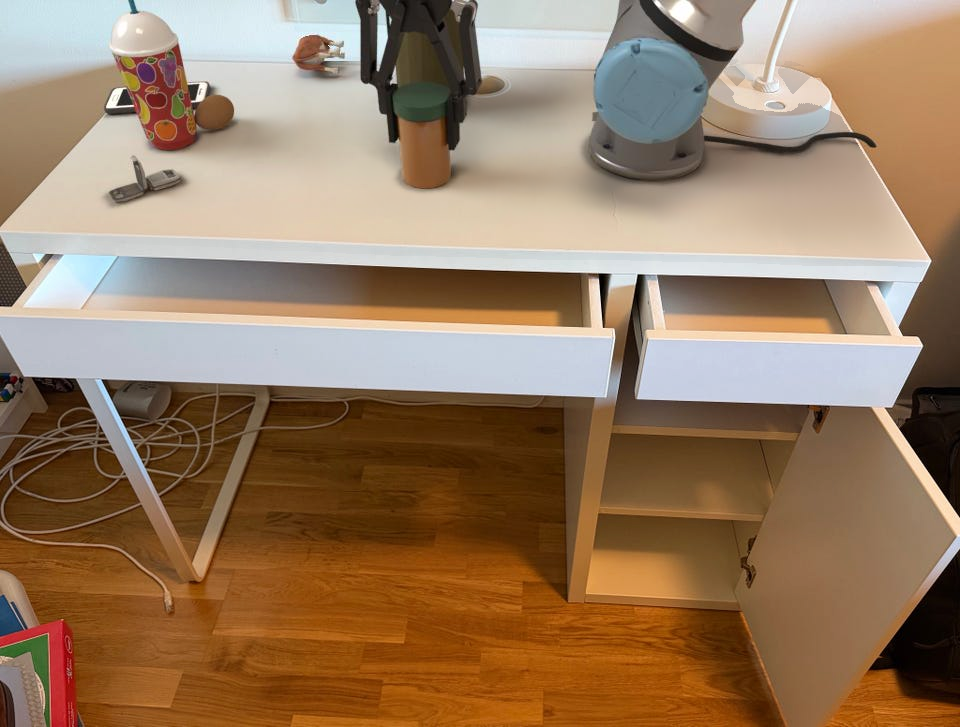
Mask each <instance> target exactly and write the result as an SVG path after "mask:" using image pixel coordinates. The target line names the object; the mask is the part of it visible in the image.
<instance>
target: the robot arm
mask: <svg viewBox="0 0 960 727" xmlns="http://www.w3.org/2000/svg"><path fill="white" fill-rule="evenodd" d="M756 2H757V0H618V7H617V15H616V19H615V20H616V21H615V23H614V25H613V29H612V31H611V33H610V35H609V38H608V41H607V43H606V46H605V48H604V51H603V53H602V56H601V57H600V59H599V61H598V63H597V64H596V66H595V70H594V71H595V73H594V75H593V100H594V104H595V107H596V110H597V111H594V112H592V116H591V122H594V124H593V126H592V128H591V130H590V135H589V139H588V154H589V156H590V157H591V159H592V160H593V161H594V162H595V163H596V164H597V165H598V166H599V167H601V168H603V169H604V170H607V171H608V172H611V173H612V174H616V175H619V176H622V177H625V178H630V179H634V180H641V181H663V180H671V179H676V178H680V177H683V176H686V175H688V174H690V173H692V172H693V171H695V170H697V168H698V167H699V166H700V165H701V163H702V161H703V156H704V152H705V142H707V143H708V142H709V143H717V144H725V145H733V146H740V147H746V148H752V149H761V150H766V151H771V152H779V153H799V152H802V151H806V150H807V149H809V148H810V147H811V146H812V145H813V144H814V143H815V142H817V141H821V140H831V139H842V138H843V139H845V138H849V139H856V140H859V141H862V142H863V143H865V144H866V145H867V146H868V147H869V148H872V149H875V148H877V144H876V143H875V142H874V140H873V139H872V138H870V136H867V135H865V134H864V133H863V134H862V133H860V132H854V131H837V132H828V133H820V134H814V135H813V136H811V137H810V138H809V139H808V140H807V141H806V142H804V143H802V144H800V145H796V146H795V145H794V146H784V145H777V144H771V143H766V142H765V143H764V142H760V141H759V142H757V141H750V140H745V139H744V140H743V139H737V138H732V137H722V136H714V135H705V134H704V127H703V126H704V125H703V119H702V113H703V112H704V108H705V107H706V106H707V103H708V98H709V91H710V89H711V88H712V86H713V85H714V84H715V82H716V81H717V79H718V78H719V77H720V75H722V73H723V71H724V70H725V69H726V68H727V66H728V65H729V63H730V62H731V61H732V59H733V58H734V56H735V55H736V54H737V53H738V51H739V50H740V48H742V46H743V44H744V42H745V39H744V38H745V36H744V30H743V20H744V18H745V17H746V15H747V14H749V11H750V10H751V8H752V7H753V6H754V5H755V3H756ZM354 3H355V8H356V10H357V14H358V17H359V20H360V23H359V28H360V29H359V30H360V32H359V33H360V34H359V36H360V37H359V38H360V41H359V42H360V43H359V45H360V46H359V50H360V52H359V55H360V58H359V59H360V60H359V61H360V63H359V64H360V65H359V66H360V71H359V72H360V81H361V83H363V84H364V85H368V84H369V85H372V86H373V87H374V88H375V90H376V92H377V101H378V111H379V113H380V114H381V115H386V123H387V125H386V126H387V134H388V143H389V144H396V142H397V141H398V140H399V135H398V123H397V115H396V114H395V112H394V109H393V98H392V95H393V92H394V91H395V90H396V89H397V88H398V84H397V83H393V82H392V80H393V79H394V77H393V75H394V72H395V69H396V66H395V65H396V61H397V58H398V54H399V51H400V47H401V44H402V41H403V37H404V34H405V32H407V33H409V32H414V31H415V32H418V33H421V34H427V36H428V39H429V41H430V43H431V44H433V46H434V49H435V51H436V54H437V57H438V59H439V62H440V64H441V67H442V69H443V72H444V75H445V77H446V80H447V82H448V85H449V87H450V90H451V93H450V94H449V96H448V98H447V99H446V103H447V130H448V150H450V151H455V149H456V148H457V146H458V144H459V143H460V140H461V134H460V133H461V132H460V131H461V128H460V127H461V126H460V124H463V123H464V121H465V119H466V118H467V115H468V105H467V104H468V101H467V98H468V97H467V96H476V94H477V93H478V92H479V90H480V88H481V86H482V85H483V79H482V70H481V62H480V54H479V46H478V38H477V29H476V28H477V27H476V18H477V13H478V8H479V4H478V2H477V0H468V1H466V0H355V2H354ZM380 6H382V8H383V9H384V11H386V12H387V13H388V15H389V19H391V20H390V28H389V31H388V34H387V40H386V43H385V46H384V51H383V53H382V57H381V61H380V64H379V68H378V31H379V30H378V28H379V27H378V25H379V22H378V21H379V20H378V17H379V16H378V15H379V14H378V12H379V11H380V9H381V8H380ZM450 9H451V10H453V11H454V13H455V19H456V21H457V22H460V23H459V35H460V42H461V50H462V57H463V65H464V75H463V72H462V69H461V67H460V64H459V61H458V59H457V56H456V53H455V51H454V48H453V45H452V43H451V40H450V37H449V35H448V27H447V25H446V22H445V19H444V17H445V16H446V14H447V13H448V12H449V10H450ZM386 12H385V13H386ZM391 82H392V83H391Z"/></svg>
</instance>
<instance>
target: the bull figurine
mask: <svg viewBox="0 0 960 727" xmlns="http://www.w3.org/2000/svg"><path fill="white" fill-rule="evenodd" d="M297 40H298V39H297ZM297 40H296V45H297V46H296V49H295V51H294V53H293V54H292V56H291V59H292V61H293V62H294V63H295V65H296V66H297V67H298V68H299V69H301V70H303V71H320V72H330V73H333V74H339V71H340V67H339V66H338V67H337V66H336V67H328V66H325V65H323V63H324V62H325V59H334V58H338V59H341V60H344V59H346V58H345V57H346V56H345V55H346V54H345V52H344V53H343V52H341V48H344V45H345V41H344V40H341V41H337V42H335V41H334V40H332V39H328V38H326V37H325V36H321V35H320V34H317V35H309V36H305V37H303V38H301V39H299V40H298V41H297ZM328 45H329V46H330V47H331V46H334V47H336V48H334V49H331V48H330V47H329V46H328ZM340 53H341V54H340Z"/></svg>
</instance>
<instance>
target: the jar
mask: <svg viewBox="0 0 960 727" xmlns="http://www.w3.org/2000/svg"><path fill="white" fill-rule="evenodd" d="M397 123H398V135H399V138H398V145H399V156H400V167H401V179H402V180H403V182H404V183H405V184H406V185H408V186H410V187H413V188H417V189H434V188H438V187H441V186H444V185H445V184H446V183H448V182H449V181H450V180H451V178H452V162H451V161H452V160H451V159H452V158H451V150H448V130H447V115H446V116H444V117H442V118H440V119H437V120H433V121H425V122H416V121H409V120H405V119H402V118H400V117H398V116H397Z"/></svg>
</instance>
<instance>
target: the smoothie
mask: <svg viewBox="0 0 960 727" xmlns="http://www.w3.org/2000/svg"><path fill="white" fill-rule="evenodd" d="M127 2H128V5H129V8H130V10H131V11H128V12H126V13H124V14H122V15H121V16H119V18H118V19H117V20H116V21H115V23H114V25H113V27H112V29H111V34H110V42H109V43H108V47H109V51H110V52H111V53H112V56H113V58H114V60H115V63H116V66H117V69H118V71H119V74H120V76H121V79H122V81H123V83H124V85H125V86H124V87H126V88H127V90H128V93H129V95H130V98H131V100H132V103H133V105H134V108H135V110H136V112H135V113H136V115H137V117H138V120H139V122H140V125H141V128H142V131H143V132H144V134H145V137H146V139H147V140H148V141H150V142H151V143H152V145H153V147H155V148H157V149H158V150H159V149H160V150H166V151H171V150H172V151H173V150H174V151H175V150H178V149H183V148H186V147H187V146H190V145H191V144H192V143H193V142H194V141H195V139H196V132H197V130H198V126H197V124H196V122H195V117H194V115H195V112H194V108H192V103H191V99H190V94H189V89H188V85H187V82H188V80H187V76H186V71H185V70H186V69H185V67H184V61H183V56H182V52H181V47H180V44H179V37H178V35H177V33H175V32H174V31H173V30H172V29H171V27H170V26H169V25H168V23H167V22H166V21H164V19H163V18H161V17H160V16H158V15H156V14H155V13H152V12H149V11H147V10H146V11H145V10H139V9H138V8H137V5H136V3H135V0H127Z"/></svg>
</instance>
